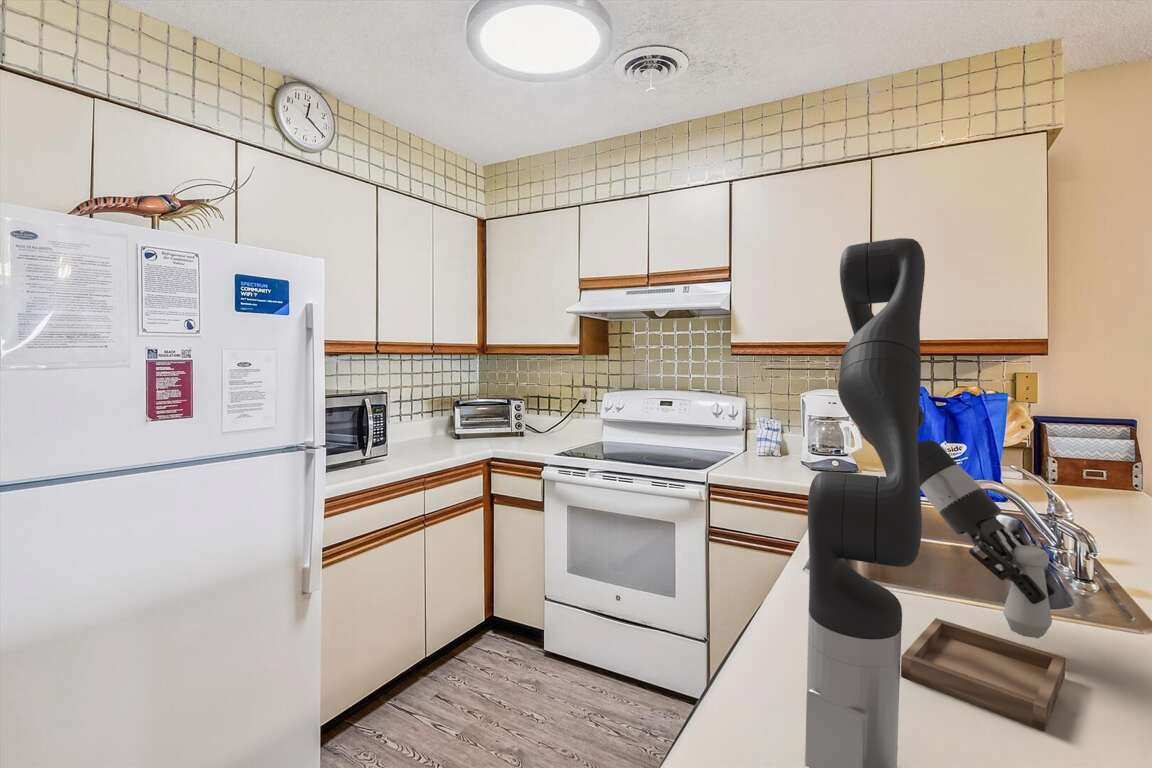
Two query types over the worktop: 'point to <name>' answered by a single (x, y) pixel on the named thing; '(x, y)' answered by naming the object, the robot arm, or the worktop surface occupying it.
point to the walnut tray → (986, 671)
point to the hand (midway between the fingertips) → (1044, 597)
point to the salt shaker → (1018, 607)
